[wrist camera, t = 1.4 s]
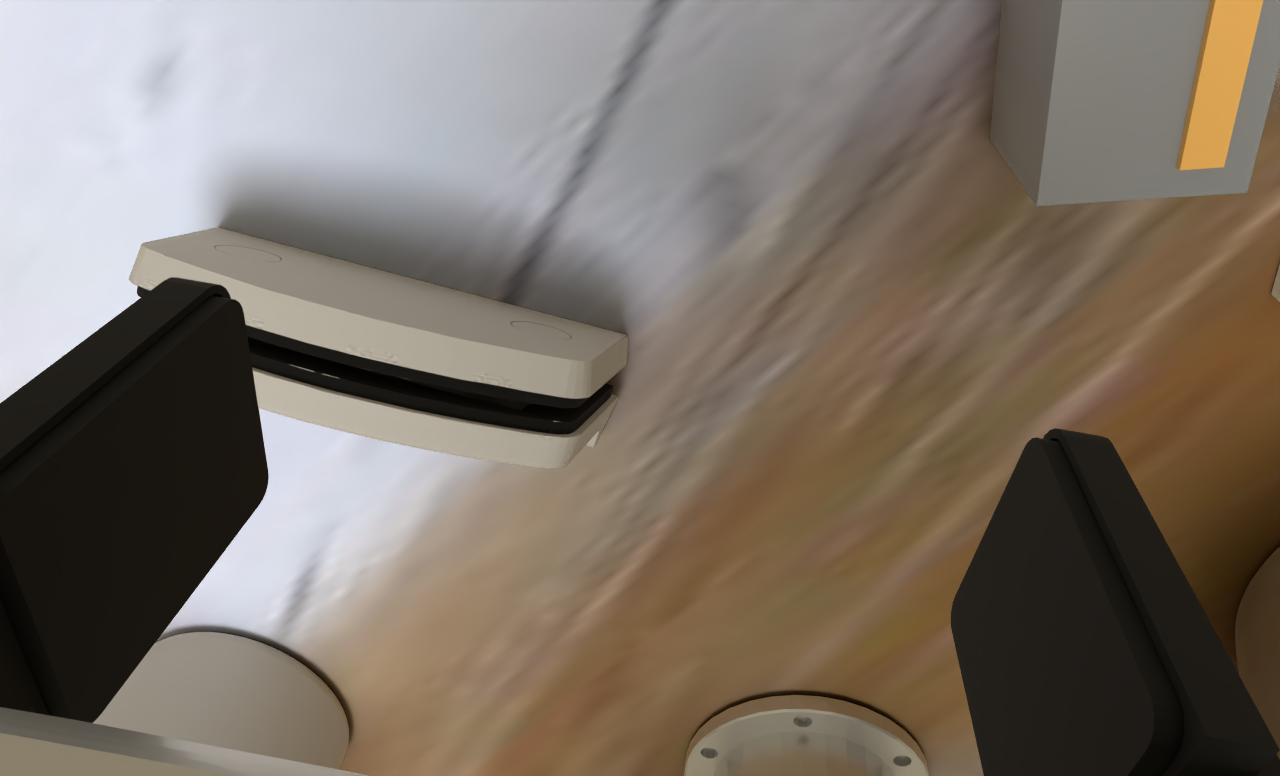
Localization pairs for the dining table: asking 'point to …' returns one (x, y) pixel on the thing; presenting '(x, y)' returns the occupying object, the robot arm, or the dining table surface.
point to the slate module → (1133, 96)
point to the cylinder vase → (232, 699)
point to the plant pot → (1261, 642)
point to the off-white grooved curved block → (403, 352)
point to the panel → (1276, 286)
